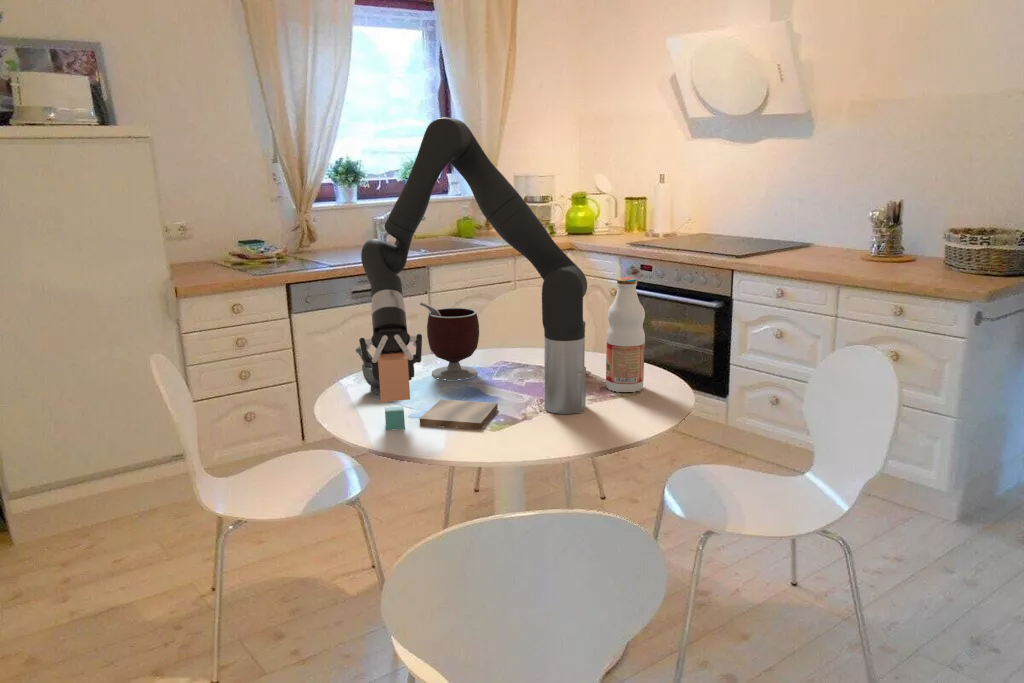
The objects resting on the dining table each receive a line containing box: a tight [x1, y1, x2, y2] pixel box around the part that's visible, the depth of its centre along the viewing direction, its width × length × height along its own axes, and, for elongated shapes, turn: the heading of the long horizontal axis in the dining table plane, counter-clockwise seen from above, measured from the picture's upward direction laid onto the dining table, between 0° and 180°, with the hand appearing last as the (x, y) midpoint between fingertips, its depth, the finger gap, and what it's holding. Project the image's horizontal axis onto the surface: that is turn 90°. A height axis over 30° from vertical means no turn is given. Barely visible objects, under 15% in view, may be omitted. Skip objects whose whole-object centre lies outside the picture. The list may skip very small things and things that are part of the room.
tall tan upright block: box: [378, 352, 411, 403], centre depth 167 cm, size 6×6×9 cm
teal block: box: [384, 405, 406, 431], centre depth 169 cm, size 4×4×4 cm
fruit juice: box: [605, 276, 646, 393], centre depth 192 cm, size 9×9×28 cm
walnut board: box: [419, 398, 498, 431], centre depth 175 cm, size 14×14×2 cm
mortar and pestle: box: [355, 345, 380, 395], centre depth 194 cm, size 11×9×12 cm
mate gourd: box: [419, 301, 480, 381], centre depth 207 cm, size 16×14×20 cm
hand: (394, 379), depth 165 cm, fingers closed on tall tan upright block, 6 cm apart
